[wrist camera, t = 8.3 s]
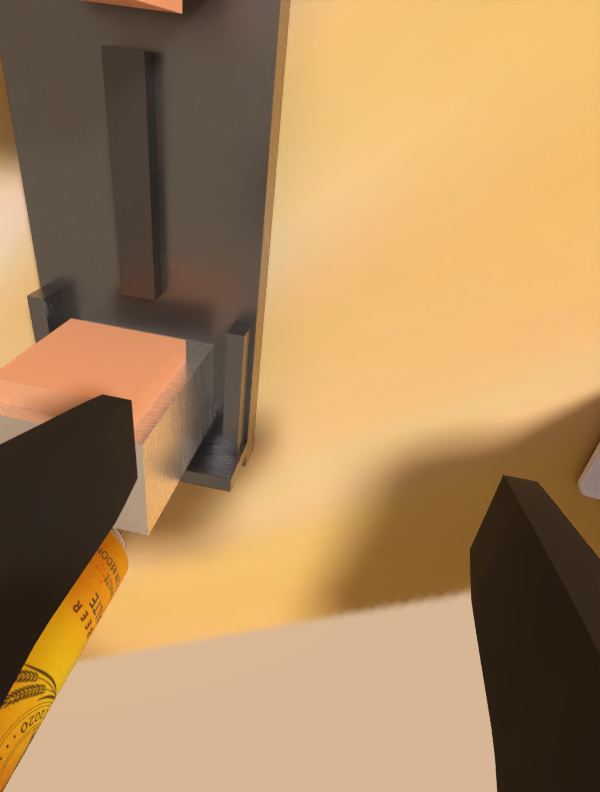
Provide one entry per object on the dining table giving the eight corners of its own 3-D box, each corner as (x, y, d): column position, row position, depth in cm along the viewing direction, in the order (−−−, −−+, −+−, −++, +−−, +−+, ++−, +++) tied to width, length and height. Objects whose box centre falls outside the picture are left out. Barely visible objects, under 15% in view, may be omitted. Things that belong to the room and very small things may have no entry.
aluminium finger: (212, 422, 20) (148, 536, 15) (93, 398, 21) (-7, 500, 16) (214, 324, 18) (140, 420, 13) (80, 299, 18) (-42, 382, 13)
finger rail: (-34, -349, 11) (-529, -833, 5) (317, -324, 11) (202, -845, 5) (80, 413, 23) (-37, 533, 17) (252, 448, 22) (195, 587, 16)
